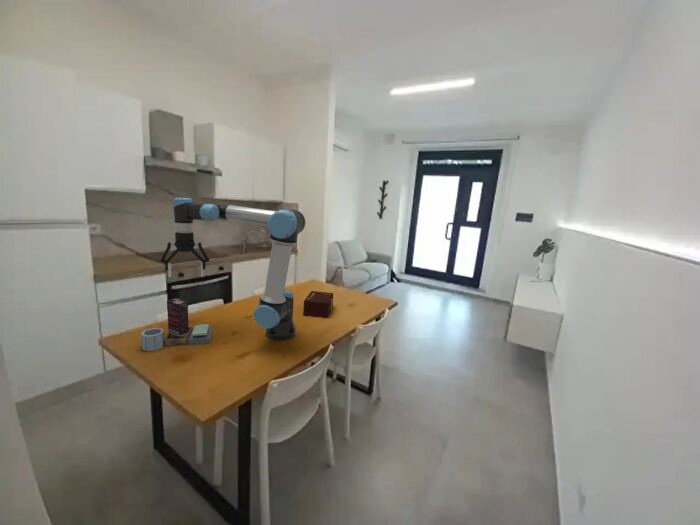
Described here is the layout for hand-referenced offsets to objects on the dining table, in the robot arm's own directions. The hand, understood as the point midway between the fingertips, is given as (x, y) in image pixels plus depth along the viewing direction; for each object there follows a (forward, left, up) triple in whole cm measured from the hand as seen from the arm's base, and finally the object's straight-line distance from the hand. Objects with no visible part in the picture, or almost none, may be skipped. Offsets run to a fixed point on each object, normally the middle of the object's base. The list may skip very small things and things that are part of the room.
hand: (186, 276), depth 142 cm
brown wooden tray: (+3, +6, -29) cm, 30 cm away
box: (-71, -21, -30) cm, 80 cm away
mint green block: (-6, +7, -28) cm, 29 cm away
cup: (+12, +12, -29) cm, 34 cm away
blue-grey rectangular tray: (-6, +7, -29) cm, 31 cm away
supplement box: (+3, +6, -26) cm, 27 cm away
